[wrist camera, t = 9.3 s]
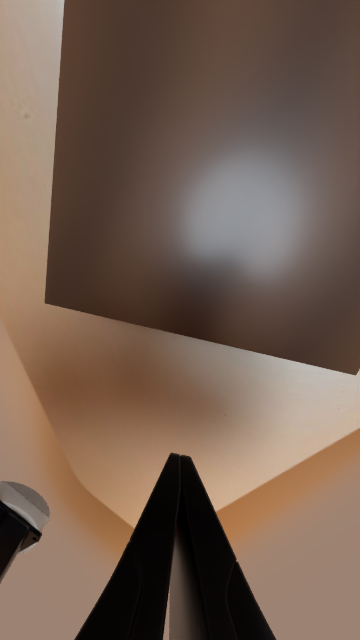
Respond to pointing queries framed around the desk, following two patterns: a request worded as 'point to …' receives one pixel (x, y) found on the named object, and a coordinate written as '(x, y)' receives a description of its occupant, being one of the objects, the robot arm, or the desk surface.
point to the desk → (212, 172)
